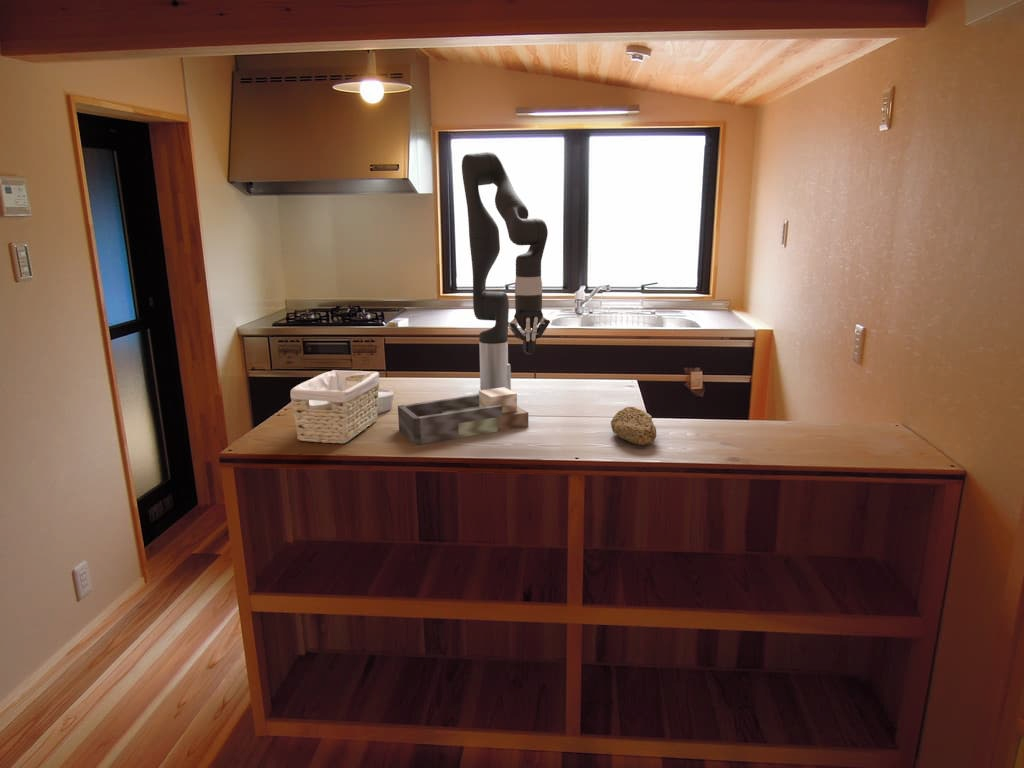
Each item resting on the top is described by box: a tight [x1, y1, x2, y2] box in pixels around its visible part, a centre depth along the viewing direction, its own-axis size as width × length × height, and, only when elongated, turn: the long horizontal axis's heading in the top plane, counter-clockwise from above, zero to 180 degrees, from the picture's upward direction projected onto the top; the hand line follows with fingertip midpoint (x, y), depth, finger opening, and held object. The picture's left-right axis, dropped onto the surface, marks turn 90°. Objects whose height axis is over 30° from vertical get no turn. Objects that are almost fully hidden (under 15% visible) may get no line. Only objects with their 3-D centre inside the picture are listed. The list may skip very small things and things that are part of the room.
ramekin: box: [377, 388, 395, 414], centre depth 209 cm, size 11×11×5 cm
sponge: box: [610, 406, 657, 446], centre depth 181 cm, size 13×8×20 cm
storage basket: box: [290, 369, 381, 444], centre depth 188 cm, size 24×16×15 cm
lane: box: [397, 393, 529, 446], centre depth 190 cm, size 33×14×7 cm, turn 117°
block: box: [478, 387, 518, 413], centre depth 194 cm, size 8×8×5 cm
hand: (528, 353), depth 195 cm, fingers closed
